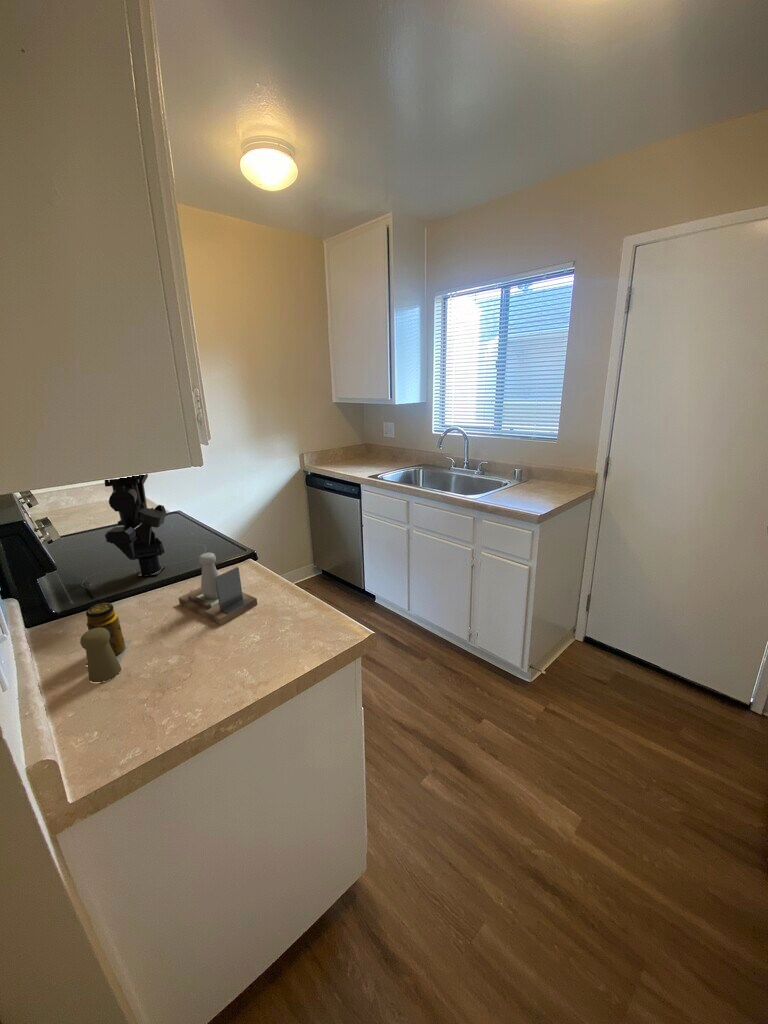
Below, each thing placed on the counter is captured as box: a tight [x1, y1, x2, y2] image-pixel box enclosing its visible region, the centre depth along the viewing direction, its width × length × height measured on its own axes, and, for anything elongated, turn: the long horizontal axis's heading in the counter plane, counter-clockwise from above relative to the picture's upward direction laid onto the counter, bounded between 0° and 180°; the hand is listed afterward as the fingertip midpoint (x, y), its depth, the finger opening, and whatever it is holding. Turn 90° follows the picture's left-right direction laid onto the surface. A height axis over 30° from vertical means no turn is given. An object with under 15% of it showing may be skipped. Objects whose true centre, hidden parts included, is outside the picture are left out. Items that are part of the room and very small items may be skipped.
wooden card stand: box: [178, 586, 258, 626], centre depth 117 cm, size 19×12×3 cm, turn 56°
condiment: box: [85, 602, 132, 665], centre depth 95 cm, size 7×8×12 cm
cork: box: [79, 628, 122, 682], centre depth 89 cm, size 6×6×11 cm
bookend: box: [215, 566, 250, 614], centre depth 111 cm, size 3×7×10 cm, turn 146°
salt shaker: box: [198, 552, 220, 600], centre depth 115 cm, size 6×6×13 cm
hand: (140, 552), depth 120 cm, fingers open, 9 cm apart
